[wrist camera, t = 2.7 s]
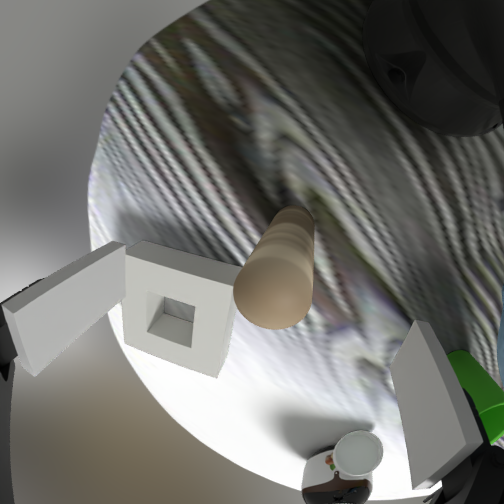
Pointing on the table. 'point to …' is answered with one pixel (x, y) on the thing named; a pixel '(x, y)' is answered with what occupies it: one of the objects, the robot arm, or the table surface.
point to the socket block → (183, 290)
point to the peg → (279, 272)
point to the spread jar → (343, 470)
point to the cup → (480, 392)
